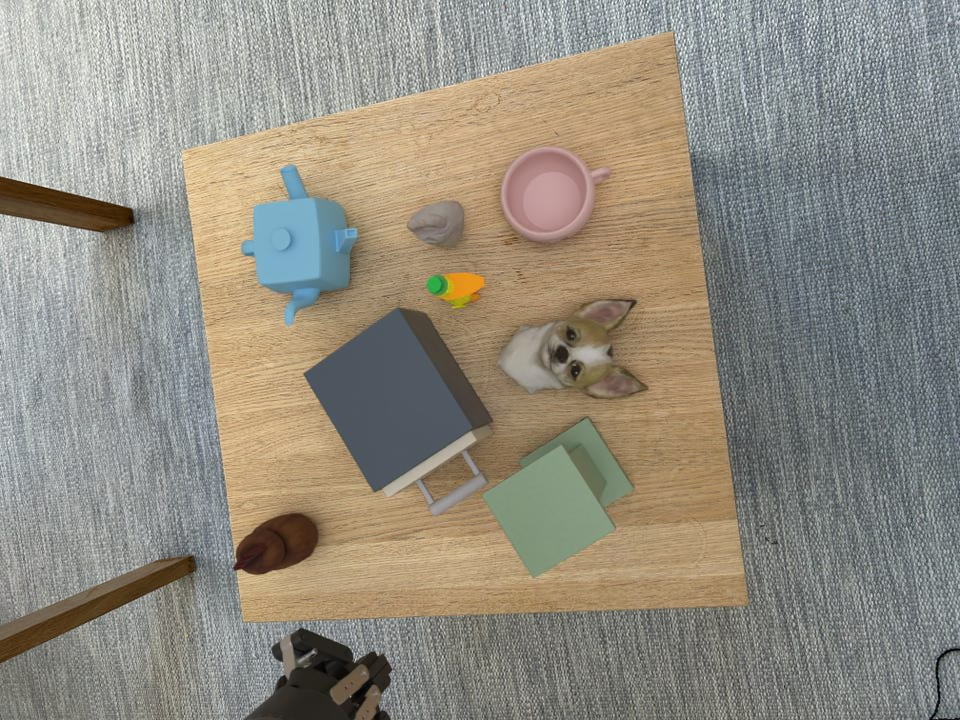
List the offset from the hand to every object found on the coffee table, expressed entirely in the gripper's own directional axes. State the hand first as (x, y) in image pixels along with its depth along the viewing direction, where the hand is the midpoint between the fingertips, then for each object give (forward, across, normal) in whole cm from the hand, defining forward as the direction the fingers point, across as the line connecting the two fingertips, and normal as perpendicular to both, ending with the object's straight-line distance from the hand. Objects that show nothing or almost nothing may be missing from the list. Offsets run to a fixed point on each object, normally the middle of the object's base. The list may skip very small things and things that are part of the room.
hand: (378, 666), depth 60 cm
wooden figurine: (+27, -14, -15) cm, 34 cm away
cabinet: (+27, -20, +6) cm, 34 cm away
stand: (+27, -3, +17) cm, 32 cm away
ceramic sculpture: (+27, -14, +24) cm, 39 cm away
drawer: (+26, -16, +6) cm, 31 cm away
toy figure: (+27, -26, +18) cm, 42 cm away
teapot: (+27, -40, +6) cm, 49 cm away
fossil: (+27, -33, +20) cm, 47 cm away
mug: (+27, -29, +32) cm, 51 cm away
